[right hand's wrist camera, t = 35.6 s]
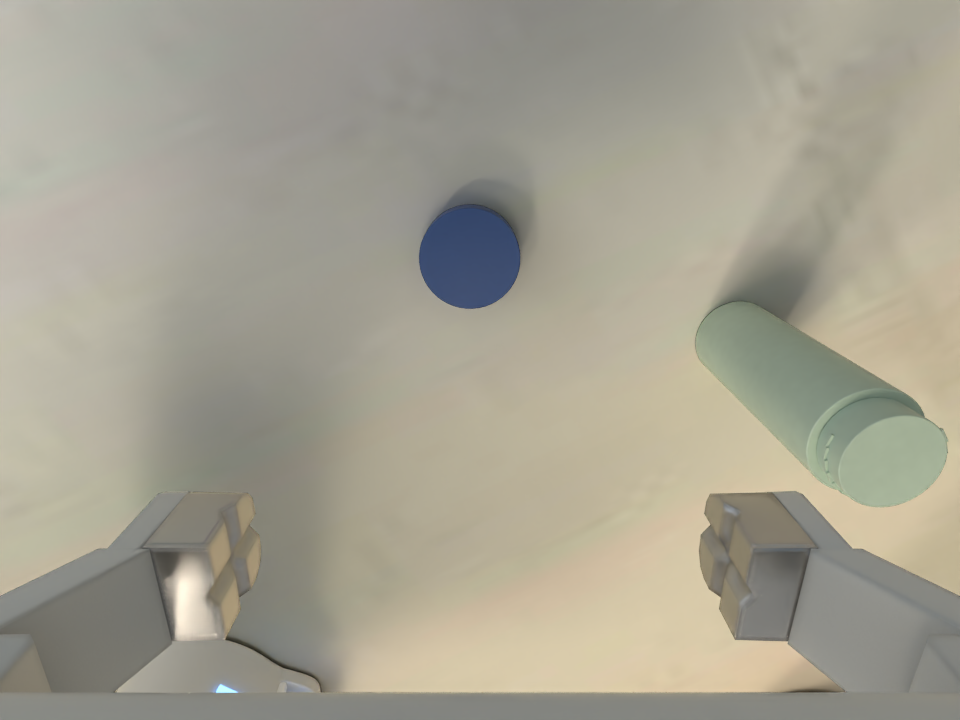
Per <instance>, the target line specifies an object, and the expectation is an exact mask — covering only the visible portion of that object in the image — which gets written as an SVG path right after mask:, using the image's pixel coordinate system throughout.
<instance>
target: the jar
mask: <svg viewBox="0 0 960 720" xmlns="http://www.w3.org/2000/svg"><path fill="white" fill-rule="evenodd" d="M695 346H696V352H697V355H698V357H699V359H700V361H701V362H702V363H703V365H704V366H705V367H706V368H707V369H708V370H709V371H710V372H711V373H712V374H713V375H714V376H715V377H716V378H717V379H718V380H719V381H720V382H721V383H722V384H723V385H724V386H725V387H726V388H727V389H728V390H729V391H730V392H731V393H732V394H733V395H734V396H735V397H736V398H737V399H738V400H739V401H740V402H741V403H742V404H743V405H744V406H745V407H746V408H747V409H748V410H749V411H750V412H751V413H752V414H753V415H754V416H755V417H756V418H757V419H758V420H759V421H760V422H761V423H762V424H763V425H764V426H765V427H766V428H767V429H768V430H769V431H770V432H771V433H772V434H773V435H774V436H775V437H776V438H777V439H778V440H779V441H780V442H781V443H782V444H783V445H784V446H785V447H786V448H787V449H788V450H789V451H790V452H791V453H792V454H793V455H794V456H795V457H796V458H797V459H798V460H799V461H800V462H801V463H802V464H803V465H804V466H805V467H806V468H807V469H808V470H809V471H810V472H811V473H812V474H813V475H814V476H815V477H816V478H817V479H818V480H819V481H820V482H821V483H823V484H824V485H826V486H828V487H830V488H833V489H836V490H839V491H840V492H841V493H842V494H844V495H846V496H848V497H850V498H851V499H852V500H854V501H856V502H858V503H860V504H862V505H866V506H871V507H890V506H895V505H899V504H902V503H905V502H907V501H910V500H911V499H913V498H915V497H917V496H918V495H920V494H922V493H923V492H924V491H925V490H927V489H928V488H929V487H930V486H931V485H932V484H933V483H934V482H935V480H936V479H937V478H938V476H939V475H940V473H941V471H942V469H943V467H944V465H945V462H946V457H947V453H948V449H947V442H948V439H947V437H946V435H945V432H944V430H943V429H942V428H939V427H937V426H936V425H935V424H934V423H933V422H931V421H930V420H928V419H926V418H925V416H924V413H923V411H922V409H921V407H920V406H919V405H918V403H917V402H916V401H915V400H914V399H913V398H911V397H910V396H908V395H907V394H905V393H904V392H902V391H900V390H899V389H897V388H895V387H894V386H892V385H890V384H889V383H887V382H885V381H883V380H882V379H880V378H878V377H877V376H875V375H873V374H872V373H870V372H868V371H867V370H865V369H863V368H862V367H860V366H858V365H857V364H855V363H853V362H852V361H850V360H848V359H847V358H845V357H843V356H842V355H840V354H838V353H837V352H835V351H833V350H832V349H830V348H828V347H827V346H825V345H823V344H821V343H820V342H818V341H816V340H815V339H813V338H811V337H810V336H808V335H806V334H805V333H803V332H801V331H800V330H798V329H796V328H795V327H793V326H791V325H790V324H788V323H786V322H785V321H783V320H781V319H780V318H778V317H776V316H775V315H773V314H771V313H770V312H768V311H766V310H765V309H763V308H761V307H759V306H758V305H756V304H753V303H750V302H742V301H738V302H731V303H727V304H725V305H722V306H720V307H718V308H717V309H715V310H714V311H712V312H711V313H710V314H709V315H708V316H707V317H706V318H705V319H704V321H703V322H702V324H701V325H700V327H699V329H698V332H697V335H696V344H695Z"/></svg>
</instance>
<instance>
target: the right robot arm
mask: <svg viewBox="0 0 960 720" xmlns="http://www.w3.org/2000/svg"><path fill="white" fill-rule="evenodd" d="M255 514H256V513H255V508H254V503H253V498H252V497H251V496H250V495H249V494H248V493H232V492H189V491H184V492H162V493H159V494H157V495H156V496H155V497H154V498H153V500H152V501H151V502H150V503H149V504H148V505H147V506H146V507H145V508H144V509H143V510H142V512H141V513H140V514H139V515H138V516H137V517H136V518H135V519H134V520H133V521H132V522H131V524H130V525H129V526H128V527H127V528H126V529H125V530H124V531H123V532H122V533H121V534H120V535H119V537H118V538H117V539H116V540H115V541H114V542H113V543H112V544H111V545H110V546H109V547H108V549H97V550H94V551H92V552H90V553H88V554H86V555H84V556H82V557H80V558H78V559H76V560H74V561H72V562H70V563H68V564H66V565H63V566H61V567H59V568H57V569H55V570H53V571H51V572H49V573H47V574H45V575H43V576H41V577H39V578H37V579H35V580H32V581H30V582H28V583H26V584H24V585H22V586H20V587H18V588H16V589H14V590H12V591H10V592H8V593H6V594H3V595H1V596H0V720H960V596H958V595H956V594H954V593H952V592H950V591H948V590H946V589H944V588H942V587H940V586H938V585H936V584H934V583H932V582H929V581H927V580H925V579H923V578H921V577H919V576H917V575H915V574H913V573H911V572H909V571H907V570H905V569H903V568H901V567H899V566H896V565H894V564H892V563H890V562H888V561H886V560H884V559H882V558H880V557H878V556H876V555H874V554H872V553H870V552H868V551H866V550H863V549H852V547H851V546H850V545H849V544H848V543H847V542H846V541H845V540H844V539H843V538H842V537H841V535H840V534H839V533H838V532H837V531H836V530H835V529H834V528H833V527H832V526H831V525H830V523H829V522H828V521H827V520H826V519H825V518H824V517H823V516H822V515H821V514H820V513H819V512H818V510H817V509H816V508H815V507H814V506H813V505H812V504H811V503H810V502H809V501H808V500H807V498H806V497H805V496H804V495H803V494H801V493H799V492H796V491H786V492H767V493H720V494H710V495H709V497H708V499H707V501H706V507H705V512H704V514H705V516H706V517H707V519H708V521H709V522H710V524H711V525H710V526H709V527H708V528H707V529H706V530H705V531H704V532H703V533H702V534H701V538H700V546H699V557H700V567H701V570H702V574H703V577H704V580H705V582H706V584H707V586H708V588H709V589H710V590H711V591H713V592H714V593H715V594H717V595H718V596H720V597H721V600H720V606H719V610H720V612H721V613H722V615H723V617H724V619H725V621H726V623H727V625H728V627H729V629H730V631H731V633H732V635H733V637H734V638H735V640H760V641H788V644H789V645H790V646H791V647H792V648H793V649H795V650H796V651H797V652H798V653H800V654H801V655H802V656H803V657H804V658H806V659H807V660H808V661H809V662H810V663H812V664H813V665H814V666H815V667H817V668H818V669H819V670H820V671H821V672H823V673H824V674H825V675H826V676H827V677H829V678H830V679H831V680H832V681H834V682H835V683H836V684H837V685H838V686H840V687H841V688H842V689H843V690H844V691H846V692H792V693H417V692H321V690H320V685H319V683H318V682H317V680H315V679H314V678H313V677H311V676H308V675H306V674H303V673H300V672H296V671H293V670H289V669H285V668H282V667H280V666H278V665H277V664H275V663H273V662H272V661H270V660H269V659H267V658H266V657H264V656H263V655H261V654H259V653H258V652H256V651H254V650H252V649H250V648H248V647H246V646H243V645H241V644H238V643H235V642H232V641H229V640H225V639H226V637H227V635H228V633H229V631H230V629H231V627H232V625H233V623H234V621H235V619H236V617H237V615H238V613H239V612H240V610H241V606H240V600H239V597H240V596H242V595H243V594H245V593H246V592H247V591H249V590H250V589H251V588H252V586H253V584H254V582H255V580H256V577H257V574H258V570H259V565H260V561H261V544H260V537H259V534H258V533H257V532H256V531H255V530H254V529H253V528H252V527H251V526H250V525H249V524H250V523H251V521H252V519H253V517H254V516H255ZM116 690H117V691H116ZM115 691H116V692H115Z"/></svg>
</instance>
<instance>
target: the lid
mask: <svg viewBox="0 0 960 720" xmlns="http://www.w3.org/2000/svg"><path fill="white" fill-rule="evenodd" d="M419 263H420V269H421V273H422V276H423V278H424V280H425V282H426V284H427V286H428V287H429V288H430V290H431V291H432V292H433V293H434V294H435V295H436V296H437V297H438V298H440V299H441V300H442V301H444V302H446V303H448V304H450V305H453V306H456V307H459V308H466V309H473V308H481V307H485V306H487V305H490V304H492V303H494V302H496V301H498V300H499V299H500V298H502V297H503V296H504V295H505V294H506V293H507V292H508V291H509V290H510V288H511V287H512V285H513V284H514V282H515V280H516V278H517V275H518V272H519V267H520V250H519V245H518V242H517V239H516V237H515V234H514V232H513V230H512V228H511V227H510V225H509V224H508V222H507V221H506V220H505V219H504V218H503V217H502V216H501V215H499V214H498V213H497V212H495V211H493V210H491V209H489V208H487V207H484V206H480V205H469V204H467V205H460V206H456V207H453V208H451V209H448V210H447V211H445V212H443V213H442V214H441V215H439V216H438V217H437V218H436V219H435V220H434V221H433V223H432V224H431V225H430V227H429V228H428V230H427V232H426V234H425V236H424V238H423V240H422V243H421V247H420V253H419Z"/></svg>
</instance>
